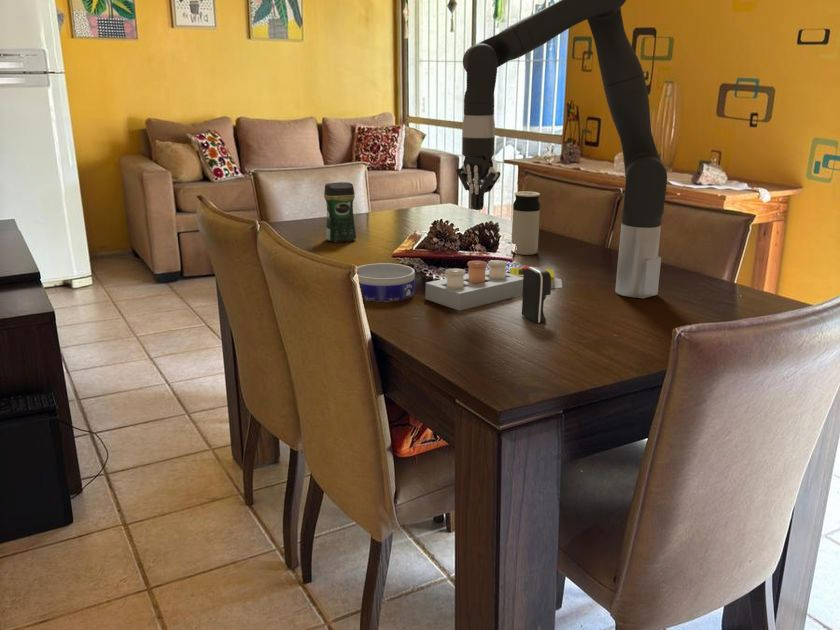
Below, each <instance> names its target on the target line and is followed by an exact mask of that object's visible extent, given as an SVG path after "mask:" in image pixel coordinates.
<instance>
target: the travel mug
mask: <svg viewBox="0 0 840 630" xmlns="http://www.w3.org/2000/svg"><path fill="white" fill-rule="evenodd" d="M514 195H515V196H514V197H515V200H514V201H513V203H512V204H513V205H512V220H511V221H512V223H511V242H512V243H513V244H516V245H517V250H516V254H515V255H519V256H533V255H536V254H538V249H539V233H540V232H539V231H540V218H541V217H540V216H541V215H540V213H541V203H540V200H539V196H541V193H539V192H536V191H525V190H524V191H522V190H521V191H516V192H514Z"/></svg>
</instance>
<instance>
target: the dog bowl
mask: <svg viewBox="0 0 840 630" xmlns="http://www.w3.org/2000/svg"><path fill="white" fill-rule="evenodd" d="M356 267H357V268H358V278H359V284H360V288H361V292H362V297H363V300H362V301H364V300H365V302H370V301H382V302H381V303H385V302H384V301H396V302H400V301H399V300H402V301H405V300H404V299H406V300H408V299H407V298H409V299H410V297H411V298H412V297H413V296H414V295H415V282H416V281H415V279H416V271H415V269H414V268H412V267H411V266H408V265H405V264H400V263H399V264H398V263H388V262H386V263H385V262H384V263H383V262H380V263H369V264H363V265H359V266H356Z"/></svg>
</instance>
